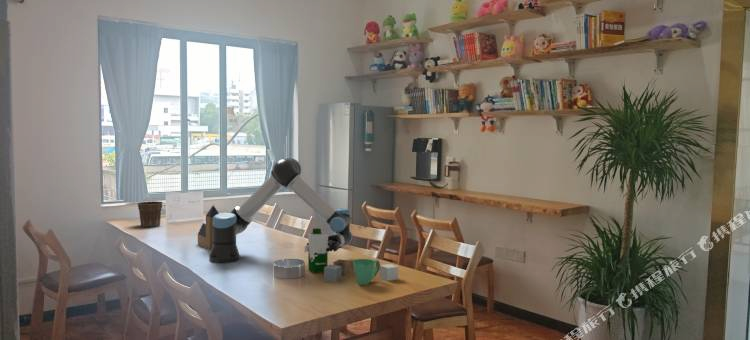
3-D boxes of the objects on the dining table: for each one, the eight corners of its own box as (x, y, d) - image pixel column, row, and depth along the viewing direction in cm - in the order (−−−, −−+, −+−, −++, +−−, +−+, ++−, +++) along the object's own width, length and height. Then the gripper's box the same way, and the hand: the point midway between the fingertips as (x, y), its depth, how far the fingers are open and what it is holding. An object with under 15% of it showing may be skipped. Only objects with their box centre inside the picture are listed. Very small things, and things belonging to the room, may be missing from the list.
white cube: (379, 278, 250) (380, 265, 249) (390, 276, 253) (391, 263, 252) (387, 281, 245) (387, 268, 244) (397, 279, 248) (398, 266, 247)
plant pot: (132, 227, 363) (132, 203, 362) (146, 223, 379) (146, 200, 377) (154, 228, 360) (154, 204, 359) (167, 224, 376) (167, 201, 375)
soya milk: (322, 267, 266) (323, 227, 264) (329, 272, 258) (330, 230, 256) (306, 269, 262) (306, 228, 260) (312, 273, 254) (313, 232, 252)
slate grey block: (323, 280, 243) (324, 267, 243) (329, 277, 249) (329, 264, 248) (335, 282, 241) (336, 269, 240) (341, 278, 246) (341, 266, 246)
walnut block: (333, 274, 254) (333, 262, 253) (338, 271, 259) (338, 259, 259) (344, 276, 251) (345, 263, 251) (350, 273, 257) (350, 260, 257)
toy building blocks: (209, 250, 298) (209, 205, 297) (197, 244, 313) (197, 202, 311) (231, 248, 306) (231, 204, 304) (218, 242, 321) (218, 200, 319)
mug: (363, 288, 232) (364, 265, 232) (347, 283, 239) (348, 261, 238) (386, 281, 243) (386, 259, 242) (370, 277, 250) (370, 256, 249)
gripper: (353, 250, 272) (333, 260, 251) (315, 246, 280) (294, 255, 259) (353, 236, 272) (334, 244, 250) (316, 232, 279) (294, 240, 258)
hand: (313, 250), depth 254 cm, fingers closed on soya milk, 8 cm apart
